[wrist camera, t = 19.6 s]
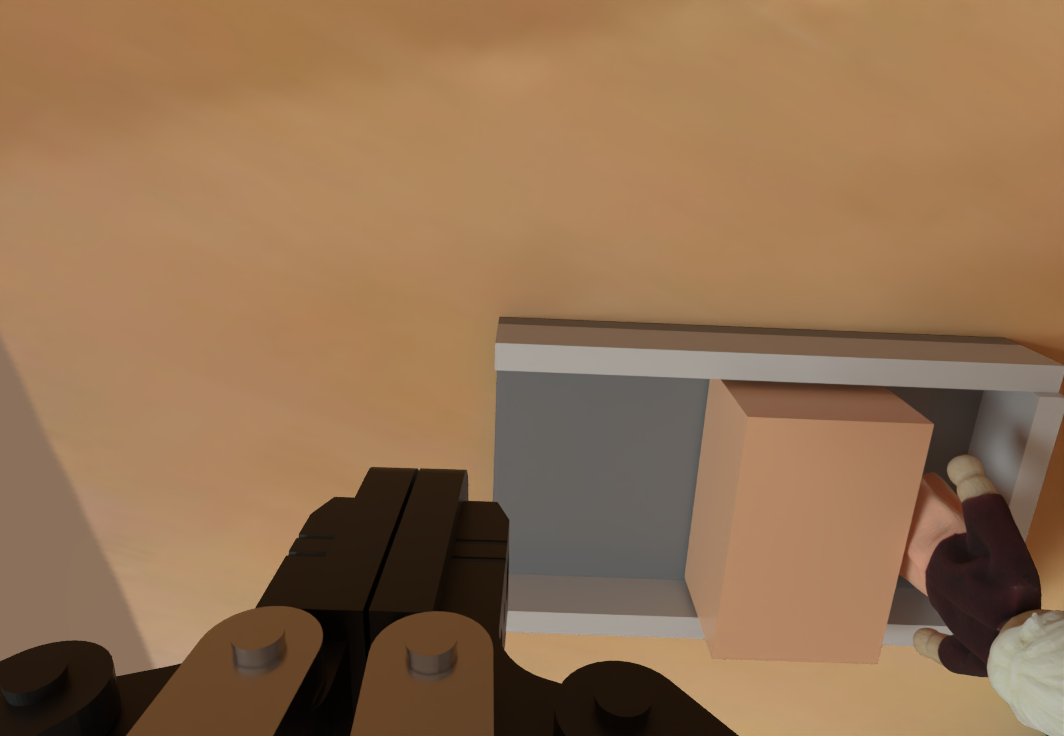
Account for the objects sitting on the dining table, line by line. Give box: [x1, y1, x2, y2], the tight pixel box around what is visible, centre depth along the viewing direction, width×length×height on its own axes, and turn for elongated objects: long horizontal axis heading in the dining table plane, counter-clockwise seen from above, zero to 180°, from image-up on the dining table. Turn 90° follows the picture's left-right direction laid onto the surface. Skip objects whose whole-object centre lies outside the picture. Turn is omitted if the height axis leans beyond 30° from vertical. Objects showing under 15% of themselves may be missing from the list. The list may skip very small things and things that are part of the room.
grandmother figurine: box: [899, 455, 1064, 736], centre depth 24 cm, size 8×4×13 cm, turn 13°
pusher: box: [685, 379, 934, 664], centre depth 27 cm, size 6×9×5 cm, turn 178°
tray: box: [493, 317, 1064, 646], centre depth 29 cm, size 20×12×4 cm, turn 88°
